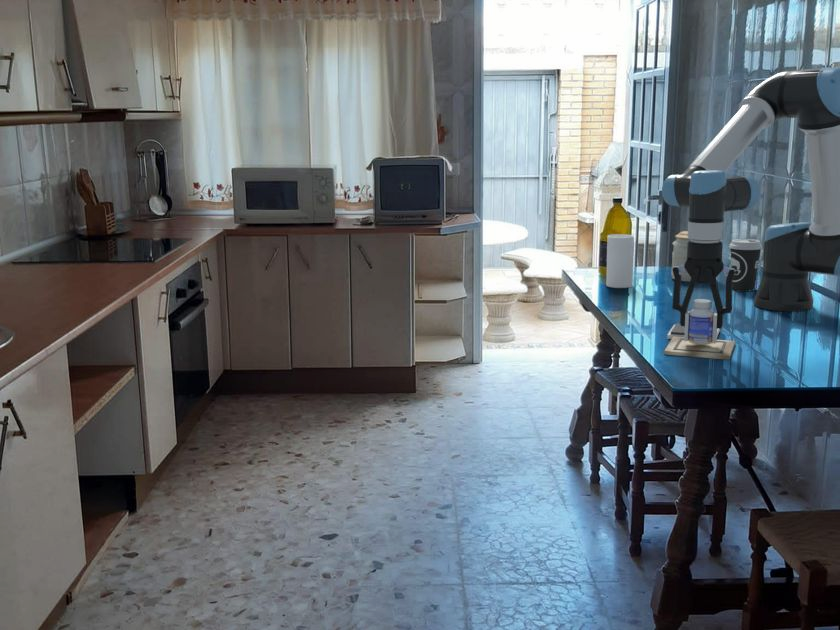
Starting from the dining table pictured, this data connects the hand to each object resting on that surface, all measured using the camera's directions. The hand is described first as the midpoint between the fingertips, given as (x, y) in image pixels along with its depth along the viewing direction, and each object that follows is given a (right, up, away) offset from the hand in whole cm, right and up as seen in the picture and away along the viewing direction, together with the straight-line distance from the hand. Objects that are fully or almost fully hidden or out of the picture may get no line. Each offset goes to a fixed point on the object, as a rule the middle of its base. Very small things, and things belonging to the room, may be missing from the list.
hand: (700, 340), depth 197 cm
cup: (-1, +15, +78) cm, 79 cm away
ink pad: (+3, +1, +13) cm, 13 cm away
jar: (+25, +18, +86) cm, 91 cm away
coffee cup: (+35, +14, +66) cm, 76 cm away
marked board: (0, -2, 0) cm, 2 cm away
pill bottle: (0, -1, 0) cm, 1 cm away
